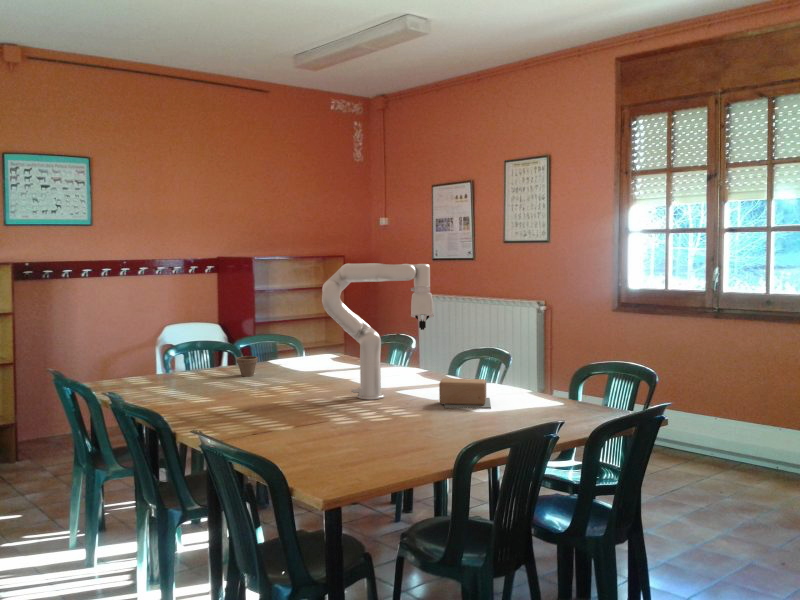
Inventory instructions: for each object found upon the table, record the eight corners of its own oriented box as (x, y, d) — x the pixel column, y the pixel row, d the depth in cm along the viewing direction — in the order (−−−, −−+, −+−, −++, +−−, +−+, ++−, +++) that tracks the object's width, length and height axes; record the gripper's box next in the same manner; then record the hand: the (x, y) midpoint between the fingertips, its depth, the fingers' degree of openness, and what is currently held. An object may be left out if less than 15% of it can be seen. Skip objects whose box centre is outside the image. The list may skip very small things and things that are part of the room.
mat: (444, 408, 334) (444, 406, 334) (445, 398, 353) (445, 397, 353) (490, 408, 332) (490, 407, 332) (489, 399, 352) (489, 397, 352)
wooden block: (439, 404, 338) (484, 405, 334) (439, 382, 337) (484, 383, 334) (442, 399, 348) (486, 401, 344) (442, 378, 347) (486, 379, 343)
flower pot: (249, 378, 413) (249, 359, 412) (232, 376, 418) (232, 358, 417) (262, 374, 423) (261, 356, 423) (245, 373, 428) (245, 355, 428)
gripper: (405, 291, 356) (405, 330, 357) (437, 290, 354) (438, 330, 356) (406, 290, 363) (407, 328, 364) (438, 289, 362) (438, 328, 363)
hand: (422, 329), depth 360 cm, fingers closed
